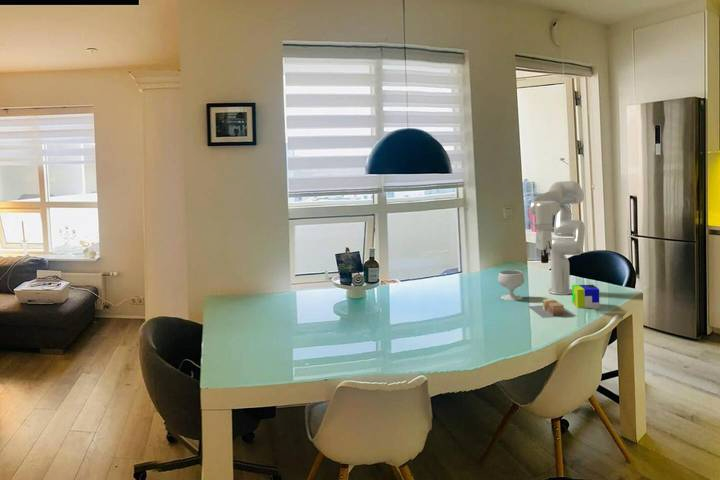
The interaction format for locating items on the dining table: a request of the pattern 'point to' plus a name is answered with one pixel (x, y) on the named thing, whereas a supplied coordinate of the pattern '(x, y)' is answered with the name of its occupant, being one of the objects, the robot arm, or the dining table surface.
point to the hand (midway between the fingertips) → (544, 262)
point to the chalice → (511, 283)
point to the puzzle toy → (585, 296)
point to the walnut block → (553, 307)
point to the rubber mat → (544, 314)
